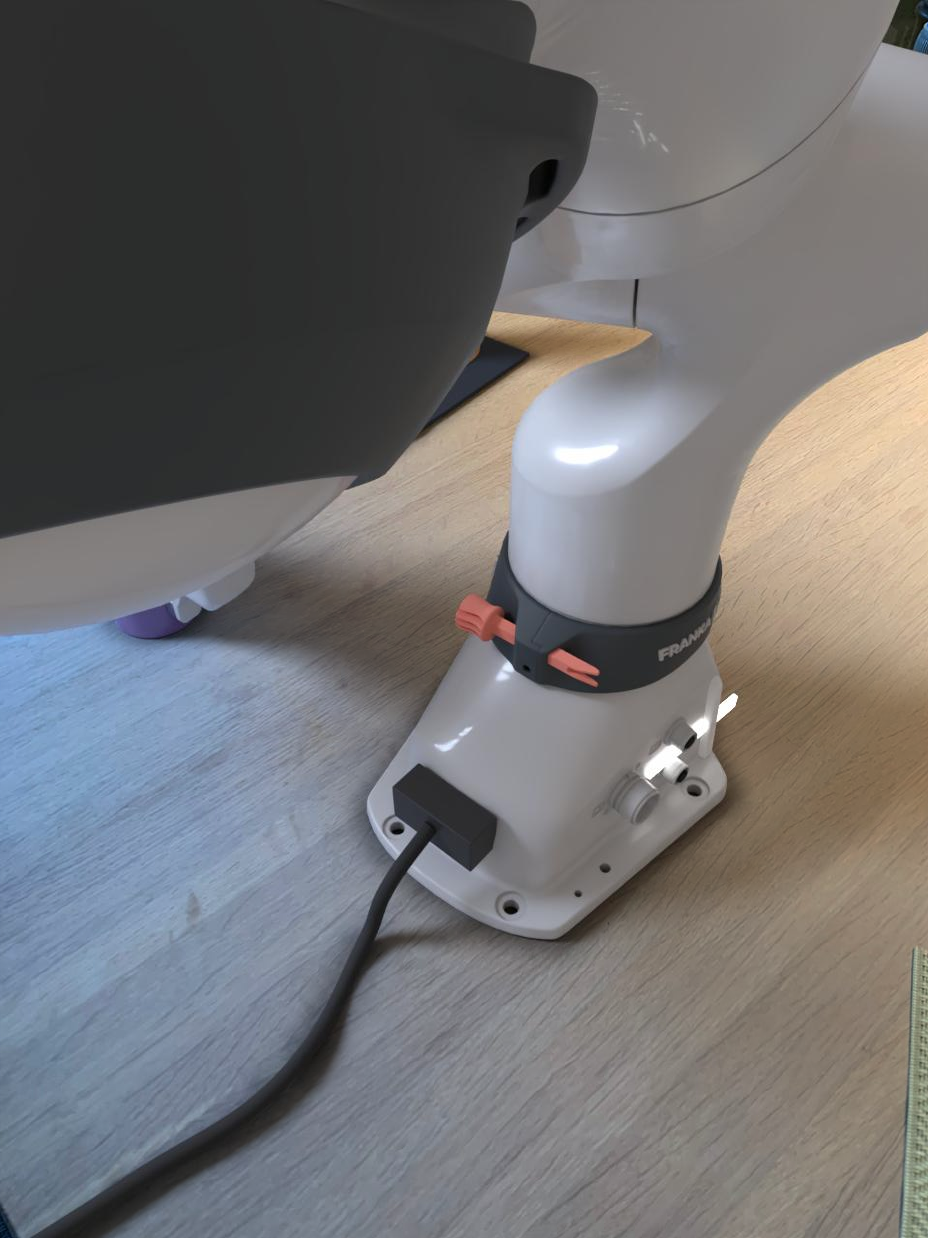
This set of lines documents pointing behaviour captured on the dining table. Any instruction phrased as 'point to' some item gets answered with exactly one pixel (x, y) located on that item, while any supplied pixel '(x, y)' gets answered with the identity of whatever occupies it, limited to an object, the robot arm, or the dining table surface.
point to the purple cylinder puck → (150, 623)
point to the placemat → (480, 373)
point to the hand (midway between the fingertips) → (151, 591)
